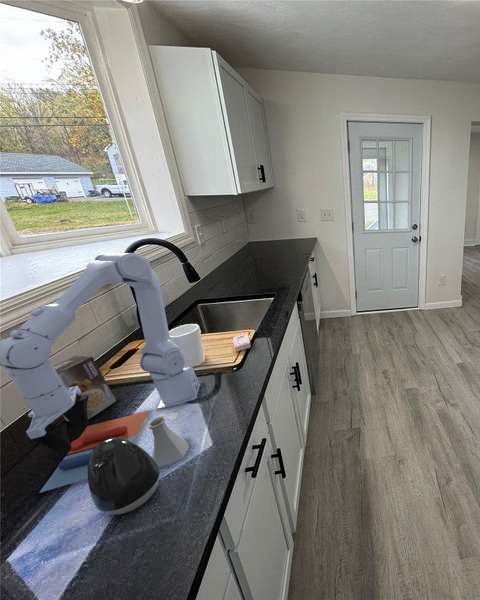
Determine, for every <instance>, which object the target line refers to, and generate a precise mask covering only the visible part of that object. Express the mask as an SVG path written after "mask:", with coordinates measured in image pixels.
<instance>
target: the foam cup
mask: <svg viewBox="0 0 480 600" xmlns="http://www.w3.org/2000/svg"><path fill="white" fill-rule="evenodd" d="M201 333H202V330H201V327H200V325H199V324H198V323H187V324H183V325H179V326H177V327H174V328H172V329H170V330H169V336H170V340H171V341H172V342H174V343H175V344H176V345H177V346H178V347H179V349H180V352H181V354H182V355H183V356H184V358H185V365H184V367H192V368H196V367H198V366H200V365H202V364H203V363H205V361H206V358H205V357H206V356H205V351H204V345H203V340H202V335H201Z"/></svg>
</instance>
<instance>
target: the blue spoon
mask: <svg viewBox="0 0 480 600" xmlns="http://www.w3.org/2000/svg"><path fill="white" fill-rule="evenodd" d="M91 453H92V452H90V453H87V454H83V455H79V456H76V457H72V458H69V459H65V460H63V459H62V461H60V462H59V463H58V466H57V467H59V469H61V470H66V469H70V468H73V467H77V466H80V465H84V464H87V463H88V461H89V458H90V455H91Z"/></svg>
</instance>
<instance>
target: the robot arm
mask: <svg viewBox="0 0 480 600" xmlns="http://www.w3.org/2000/svg"><path fill="white" fill-rule="evenodd" d="M119 282H122V283H124V284H126V285H127V286H129V287H132V288H133V289H134V294H135V299H136V303H137V307H138V309H137V310H138V313H139V318H140V319H139V320H140V323H141V328H142V333H143V338H144V343H145V344H144V345H143V346H142V347H141V348H140V354H141V356H140V359H139V366H140V369H141V370H142V371H144V372H147V373H149V376H150V378H151V380H152V382H153V385H154V386H155V389H156V391H157V394H158V396H159V398H160V402H159V404H158V406H157V410H159V409H164V408H168V407H172V406H176V405H179V404H184V403H187V402H191V401H192V402H193V401H194V400H196V399H197V396H198V394H199V390H200V387H201V383H200V382H199V380H198V377H197V374H196V372H195V369H194V367H185V366H184V365H185V358H184V356H183V355H182V354H181V352H180V349H179V347H178V346H177V345H176V344H175V343H174V342H172V341H171V340H170V336H169V331H170V330H169V325H168V321H167V314H166V309H165V304H164V299H163V298H164V297H163V294H162V293H163V292H162V287H161V282H160V278H159V276H158V275H157V274H156V272H155V270H153V269H152V267H151V264H150V260H149V259H147V258H146V257H145V256H143V255H141V254H138V253H135V252H127V253H126V252H125V253H124V252H123V253H122V252H121V253H120V252H102V253H99V254H98V255H96V256H95V258H94V259H93V260H91V261H89V262H88V264H87V265H86V267H85V270H84V271H83V272H82V273H81V274H80V275H79V276H78V277H77V279H76V280H75V281H74V282H73V283H72V284H71V285H70V287H69V288H67V290H66V291H65V292H64V293H63V294H62V295H61V296H60V297H59V299H57V301H55V303H53V304H44V305H42V306H41V307H40V308H34V309H32V311H30V315H31V316H30V317H29V318H28V319H27V320H26V321H25V322H24V323H23V324H22V325H21V326H20V327H19V328H18V329H16V330H15V329H13V330H12V331H11V332H10V333H9V335H10V336H11V337H7V338H5V339H1V340H0V367H4V369H5V371H6V373H7V374H8V376H9V377H10V379H11V381H12V382H13V384H14V385H15V388H17V390H18V391H19V393H20V394H21V396H22V398H23V399H24V401H25V402H26V403H27V405H28V407H29V408H30V410H31V411H29V412H28V414H27V417H29V418H32V419H31V422H30V425H29V427H28V428H27V430H26V431H25V433H26V435H25V439H26V440H27V441H28V442H32V443H36V444H39V445H41V446H44V447H46V448H47V449H49V450H51V451H52V452H54V453H56V454H57V455H62V454H66V453H68V452H69V451H70V450H71V449H72V448H71V444H70V443H71V442H70V440H69V437H68V434H67V425H68V423H67V422H65V423H61V424H57V425H56V424H53V422H55V420H57V419H58V418H60V416H63V415H64V416H65V417H66V418H67V419H68V420H69V421H68V422H69V423H70V424H71V426H72V427H73V428H74V429H76V430H80V429H83V428H84V429H85V428H87V426H90V423H89V419H88V415H87V402H88V398H89V397H88V395H87V394H84V395H80V396H79V394H80V393H81V391H80V389H79V387H78V386H74V387H70V388H67V389H66V387H65V385H64V384H63V382H62V380H61V379H60V377H59V375H58V374H57V372H56V370H55V369H54V367H53V366H54V364H52V362H51V361H50V357H51V354H52V346H53V345H54V344H55V343H56V342H57V340H59V338H60V337H61V336H62V335H64V333H65V332H67V330H68V329H69V327H71V326H72V325H73V323H74V322H75V321H76V315H75V312H76V311H77V310H79V308H80V307H81V306H82V305H83V304H85V303H86V302H87V301H88V300H89V299H90V298H91V297H92V296H93V295H94V294H95V293H97V292H98V291H99V290H100V289H101V288H102V287H103V286H105V285H110V284H116V283H119ZM62 414H63V415H62ZM64 416H63V417H64Z"/></svg>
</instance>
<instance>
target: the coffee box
mask: <svg viewBox="0 0 480 600" xmlns="http://www.w3.org/2000/svg"><path fill="white" fill-rule="evenodd" d="M53 367H54V369H55V370H56V372H57V374H58V375H59V377H60V379H61V380H62V382H63V384H64V385H65V387H66V389H67V388H70V387H74V386H78V387H79V389H80V391H81V393H80V394H79V396H80V395H84V394H87V395H88V397H89V398H88V402H87V415H88V420H90V419H92V418H93V417H94V416H97V414H99V413H100V412H102V411H104V410H105V409H106V408H108V407H110V406H111V405H113V404H115V403H116V402H117V400H116V397H115V396H114V394H113V392H112V390H111V388H110V387H109V385H108V383H107V380H106V379H105V377H104V376H103V373H102V372H101V370H100V368H99V366H98V364H97V362H96V361H95V359H94V357H93V356H89V355H74V356H72V357H70V358H68V359H65V360H64V361H61V362H60V363H57V364H55V365H53ZM61 416H63V418H64V420H65V421H66V422H69V420H68V419H67V418H66V417H65V416H64V415H63V414H62V415H61Z"/></svg>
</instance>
